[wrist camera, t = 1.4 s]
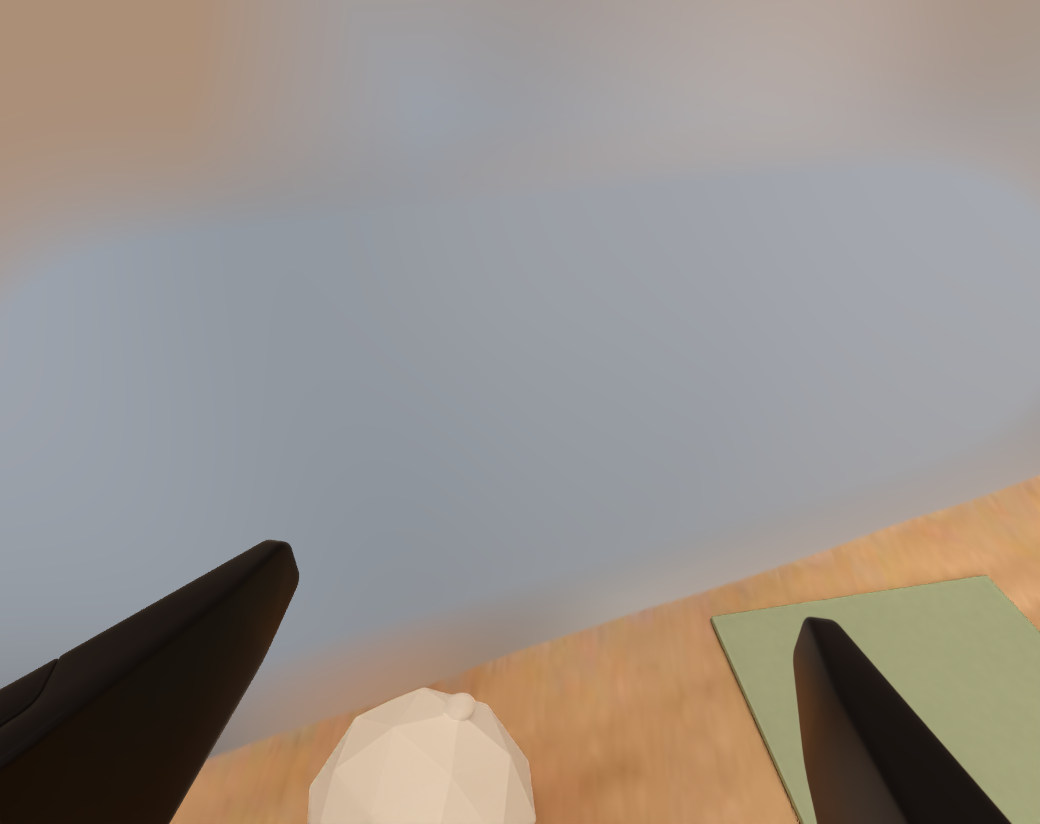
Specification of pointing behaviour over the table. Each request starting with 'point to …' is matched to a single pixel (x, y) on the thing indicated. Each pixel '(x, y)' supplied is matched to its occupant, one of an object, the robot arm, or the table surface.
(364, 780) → the ornament
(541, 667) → the table surface
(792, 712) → the mat
